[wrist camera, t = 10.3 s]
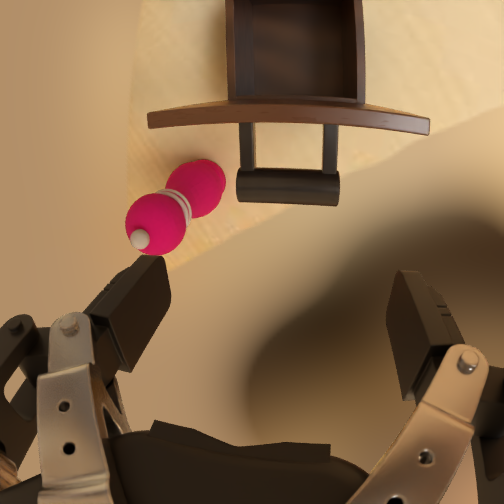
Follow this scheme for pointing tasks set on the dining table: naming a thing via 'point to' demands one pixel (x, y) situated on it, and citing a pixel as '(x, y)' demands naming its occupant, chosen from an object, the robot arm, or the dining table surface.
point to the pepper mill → (174, 207)
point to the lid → (289, 111)
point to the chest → (295, 50)
